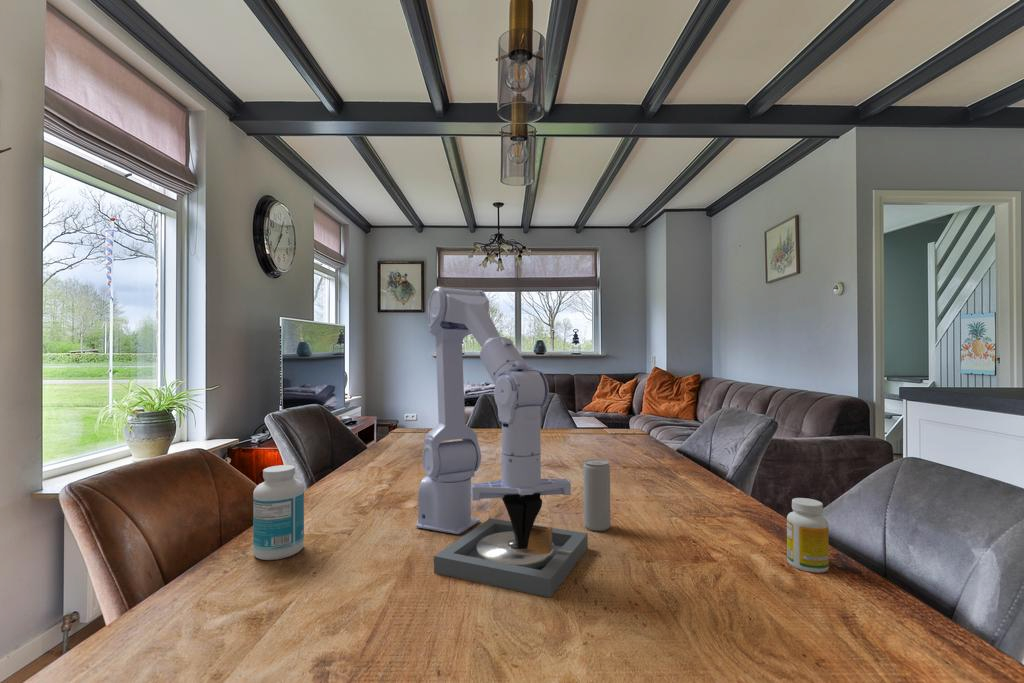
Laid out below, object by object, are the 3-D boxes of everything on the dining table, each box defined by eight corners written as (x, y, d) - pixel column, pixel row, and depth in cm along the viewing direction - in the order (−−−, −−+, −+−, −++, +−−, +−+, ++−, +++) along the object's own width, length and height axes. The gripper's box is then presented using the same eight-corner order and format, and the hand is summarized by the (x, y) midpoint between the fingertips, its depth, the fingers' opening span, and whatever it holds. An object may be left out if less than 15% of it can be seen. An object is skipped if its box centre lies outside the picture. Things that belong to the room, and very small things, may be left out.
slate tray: (433, 572, 70) (434, 553, 71) (489, 531, 87) (489, 516, 87) (550, 597, 63) (550, 576, 63) (587, 548, 79) (587, 531, 80)
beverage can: (610, 533, 86) (609, 465, 86) (583, 531, 87) (582, 464, 87) (610, 523, 91) (609, 459, 91) (584, 522, 92) (584, 458, 92)
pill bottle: (282, 540, 83) (283, 461, 83) (313, 548, 80) (314, 465, 80) (241, 556, 76) (243, 470, 77) (273, 565, 73) (275, 475, 73)
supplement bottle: (779, 562, 74) (778, 498, 74) (801, 555, 76) (800, 494, 77) (814, 576, 69) (813, 508, 69) (837, 569, 71) (836, 503, 72)
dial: (462, 562, 72) (462, 528, 72) (497, 535, 83) (497, 506, 83) (537, 577, 67) (537, 541, 67) (564, 546, 78) (564, 515, 78)
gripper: (474, 460, 66) (475, 561, 65) (577, 456, 68) (577, 553, 68) (469, 450, 73) (469, 542, 72) (562, 447, 75) (563, 535, 75)
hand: (521, 546), depth 71 cm, fingers closed
